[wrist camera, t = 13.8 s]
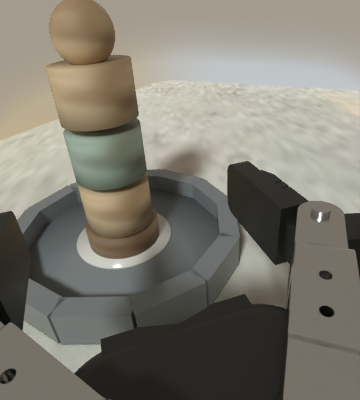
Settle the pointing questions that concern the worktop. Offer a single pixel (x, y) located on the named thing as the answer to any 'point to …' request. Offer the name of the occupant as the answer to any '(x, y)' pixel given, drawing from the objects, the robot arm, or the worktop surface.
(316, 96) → the worktop surface
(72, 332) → the dish
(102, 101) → the bead column
